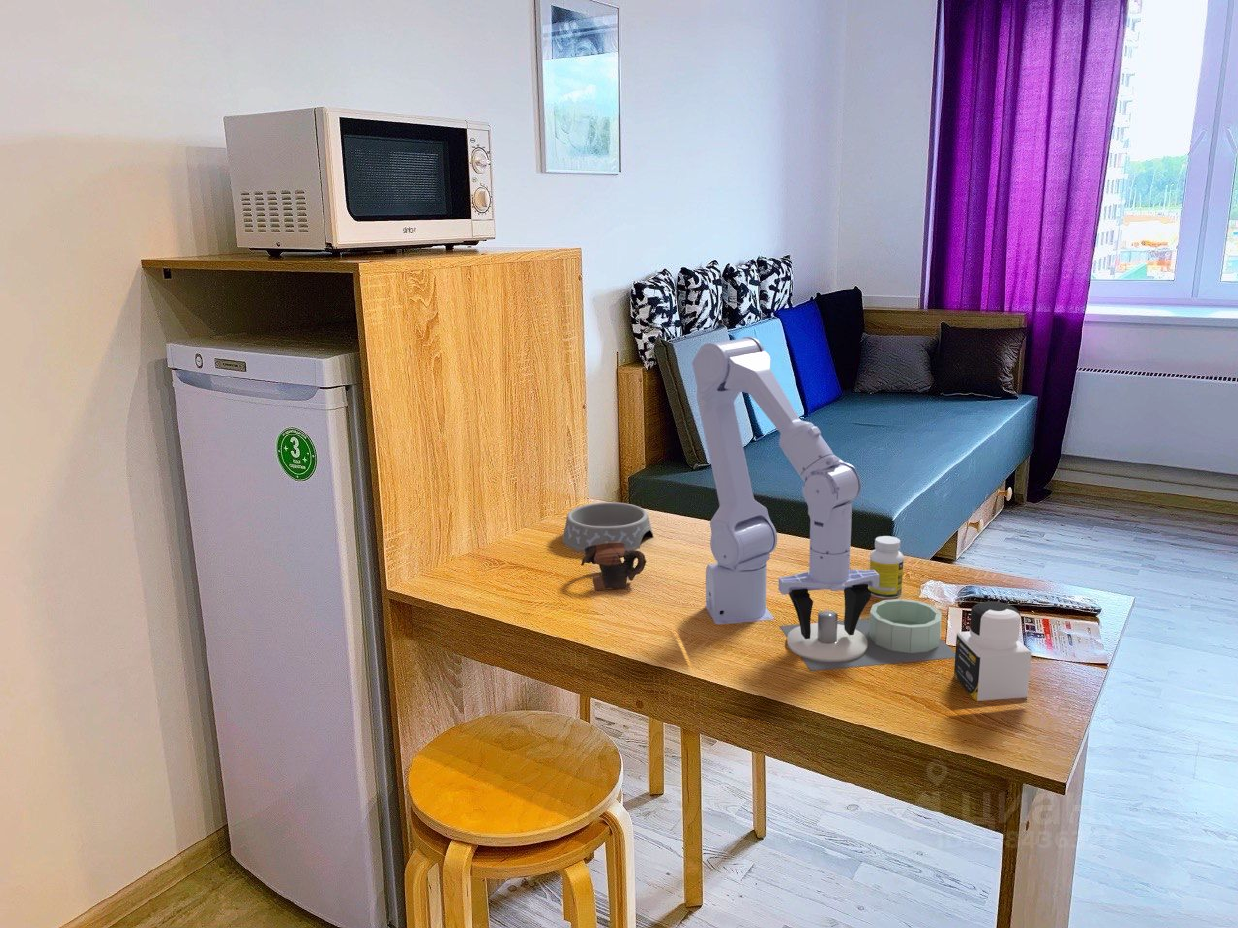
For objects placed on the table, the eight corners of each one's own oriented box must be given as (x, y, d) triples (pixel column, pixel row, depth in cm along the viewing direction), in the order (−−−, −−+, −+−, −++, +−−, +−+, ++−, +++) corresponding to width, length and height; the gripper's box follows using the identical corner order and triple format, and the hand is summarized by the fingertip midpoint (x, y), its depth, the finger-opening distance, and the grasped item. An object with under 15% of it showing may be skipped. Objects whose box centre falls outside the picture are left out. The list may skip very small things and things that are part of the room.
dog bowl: (664, 529, 197) (664, 504, 195) (629, 560, 181) (628, 532, 179) (589, 520, 204) (588, 496, 202) (548, 549, 187) (547, 523, 186)
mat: (810, 674, 135) (810, 670, 134) (779, 629, 149) (779, 625, 149) (959, 660, 137) (959, 656, 137) (914, 617, 152) (915, 614, 151)
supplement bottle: (902, 602, 157) (905, 546, 155) (868, 600, 159) (871, 544, 156) (900, 589, 163) (903, 534, 160) (867, 588, 164) (869, 533, 161)
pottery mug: (577, 594, 166) (571, 547, 168) (597, 597, 175) (591, 553, 177) (642, 582, 163) (635, 534, 165) (659, 586, 171) (652, 541, 173)
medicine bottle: (952, 678, 132) (958, 597, 129) (1002, 675, 133) (1009, 594, 130) (975, 704, 125) (981, 620, 122) (1028, 701, 126) (1036, 616, 123)
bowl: (885, 655, 138) (887, 629, 137) (859, 626, 148) (860, 602, 147) (951, 649, 139) (953, 623, 138) (921, 620, 149) (923, 596, 148)
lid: (801, 665, 136) (802, 634, 135) (777, 630, 147) (777, 601, 146) (880, 658, 137) (881, 627, 136) (850, 624, 148) (851, 595, 147)
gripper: (789, 561, 133) (787, 650, 137) (889, 553, 135) (885, 641, 139) (774, 543, 140) (773, 629, 144) (870, 536, 142) (866, 621, 146)
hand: (827, 634), depth 142 cm, fingers open, 6 cm apart
